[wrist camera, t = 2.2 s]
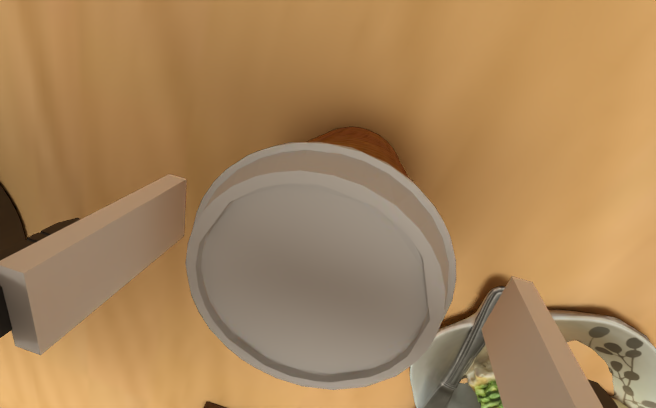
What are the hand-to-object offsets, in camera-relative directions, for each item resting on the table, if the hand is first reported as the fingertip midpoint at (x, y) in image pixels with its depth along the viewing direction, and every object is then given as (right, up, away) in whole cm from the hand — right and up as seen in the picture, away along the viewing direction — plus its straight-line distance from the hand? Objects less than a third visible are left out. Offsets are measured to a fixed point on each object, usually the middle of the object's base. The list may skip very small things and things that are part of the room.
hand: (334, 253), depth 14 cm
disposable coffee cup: (+1, +4, +8) cm, 9 cm away
